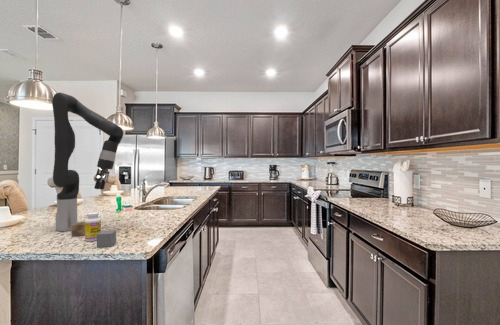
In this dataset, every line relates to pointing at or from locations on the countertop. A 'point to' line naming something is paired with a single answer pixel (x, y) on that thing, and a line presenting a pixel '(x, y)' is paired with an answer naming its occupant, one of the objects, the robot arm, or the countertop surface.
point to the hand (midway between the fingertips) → (99, 189)
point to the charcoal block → (106, 238)
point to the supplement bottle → (92, 226)
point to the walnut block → (78, 229)
